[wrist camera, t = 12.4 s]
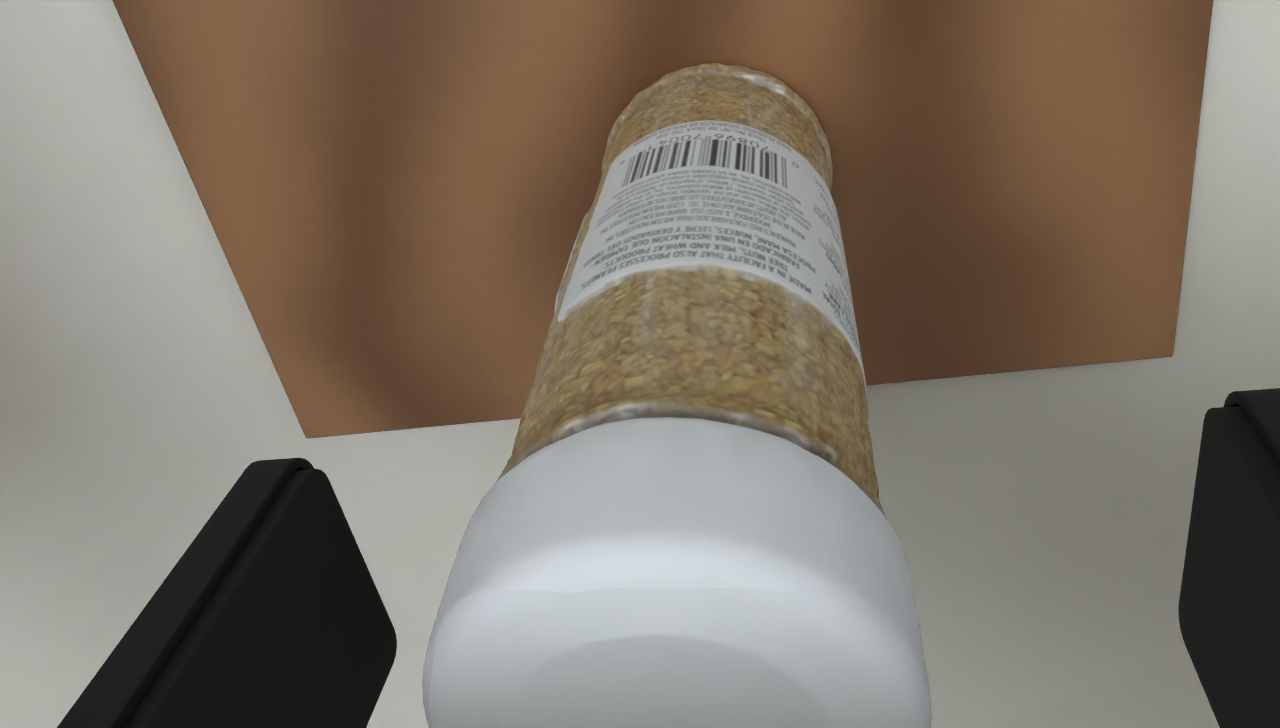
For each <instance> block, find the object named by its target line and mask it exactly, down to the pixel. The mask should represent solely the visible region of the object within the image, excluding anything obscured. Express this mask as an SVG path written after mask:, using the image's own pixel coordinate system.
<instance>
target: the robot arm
mask: <svg viewBox="0 0 1280 728" xmlns="http://www.w3.org/2000/svg"><path fill="white" fill-rule="evenodd" d="M1179 622H1180V629H1181V633H1182V637H1183V640H1184V643H1185V646H1186V648H1187V650H1188V653H1189V655H1190V657H1191V660H1192V662H1193V665H1194V667H1195V669H1196V672H1197V674H1198V677H1199V679H1200V681H1201V684H1202V686H1203V688H1204V691H1205V693H1206V696H1207V698H1208V700H1209V703H1210V705H1211V708H1212V710H1213V712H1214V715H1215V717H1216V719H1217V722H1218V724H1219V727H1220V728H1280V388H1277V389H1263V390H1249V391H1235V392H1232V393H1230V394H1229V395H1228V397H1227V398H1226V400H1225V404H1224V407H1221V408H1211V409H1209V410H1208V411H1207V413H1206V414H1205V418H1204V424H1203V431H1202V438H1201V445H1200V453H1199V460H1198V467H1197V475H1196V482H1195V489H1194V497H1193V504H1192V511H1191V519H1190V526H1189V533H1188V541H1187V548H1186V555H1185V562H1184V570H1183V577H1182V584H1181V592H1180V599H1179ZM396 648H397V640H396V633H395V630H394V627H393V625H392V623H391V620H390V618H389V616H388V614H387V611H386V609H385V607H384V604H383V602H382V600H381V598H380V595H379V593H378V591H377V588H376V586H375V584H374V582H373V579H372V577H371V575H370V573H369V570H368V568H367V566H366V563H365V561H364V559H363V557H362V554H361V552H360V550H359V548H358V545H357V543H356V541H355V538H354V536H353V534H352V532H351V529H350V527H349V525H348V522H347V520H346V518H345V516H344V513H343V511H342V509H341V507H340V504H339V502H338V500H337V497H336V495H335V493H334V491H333V488H332V486H331V484H330V481H329V479H328V478H327V476H326V474H325V473H324V472H323V471H322V470H318V469H314V468H313V466H312V464H311V463H310V462H308V461H307V460H306V459H303V458H290V459H276V460H261V461H256V462H253V463H251V464H250V465H249V466H248V467H247V468H246V469H245V471H244V472H243V473H242V475H241V476H240V478H239V479H238V480H237V482H236V483H235V484H234V486H233V487H232V489H231V490H230V491H229V493H228V494H227V495H226V497H225V498H224V500H223V501H222V502H221V504H220V505H219V506H218V508H217V509H216V510H215V512H214V513H213V515H212V516H211V517H210V519H209V520H208V521H207V523H206V524H205V526H204V527H203V528H202V530H201V531H200V532H199V534H198V535H197V537H196V538H195V539H194V541H193V542H192V543H191V545H190V546H189V547H188V549H187V550H186V552H185V553H184V554H183V556H182V557H181V558H180V560H179V561H178V563H177V564H176V565H175V567H174V568H173V569H172V571H171V572H170V574H169V575H168V576H167V578H166V579H165V580H164V582H163V583H162V584H161V586H160V587H159V589H158V590H157V591H156V593H155V594H154V595H153V597H152V598H151V600H150V601H149V602H148V604H147V605H146V606H145V608H144V609H143V611H142V612H141V613H140V615H139V616H138V617H137V619H136V620H135V621H134V623H133V624H132V626H131V627H130V628H129V630H128V631H127V632H126V634H125V635H124V637H123V638H122V639H121V641H120V642H119V643H118V645H117V646H116V648H115V649H114V650H113V652H112V653H111V654H110V656H109V657H108V658H107V660H106V661H105V663H104V664H103V665H102V667H101V668H100V669H99V671H98V672H97V674H96V675H95V676H94V678H93V679H92V680H91V682H90V683H89V685H88V686H87V687H86V689H85V690H84V691H83V693H82V694H81V695H80V697H79V698H78V700H77V701H76V702H75V704H74V705H73V706H72V708H71V709H70V711H69V712H68V713H67V715H66V716H65V717H64V719H63V720H62V722H61V723H60V724H59V726H58V727H57V728H366V726H367V724H368V722H369V719H370V717H371V715H372V712H373V710H374V708H375V705H376V703H377V701H378V698H379V696H380V693H381V691H382V689H383V686H384V684H385V682H386V679H387V677H388V675H389V672H390V670H391V668H392V665H393V663H394V659H395V656H396Z"/></svg>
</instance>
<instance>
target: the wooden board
mask: <svg viewBox="0 0 1280 728" xmlns="http://www.w3.org/2000/svg"><path fill="white" fill-rule="evenodd" d="M113 2H114V5H115V7H116V9H117V12H118V14H119V16H120V18H121V21H122V23H123V25H124V27H125V30H126V32H127V34H128V36H129V39H130V41H131V43H132V45H133V48H134V50H135V52H136V54H137V57H138V59H139V61H140V64H141V66H142V68H143V70H144V73H145V75H146V77H147V79H148V82H149V84H150V86H151V88H152V91H153V93H154V95H155V97H156V100H157V102H158V104H159V106H160V109H161V111H162V113H163V116H164V118H165V120H166V122H167V125H168V127H169V129H170V131H171V134H172V136H173V138H174V140H175V143H176V145H177V147H178V149H179V152H180V154H181V156H182V159H183V161H184V163H185V165H186V168H187V170H188V172H189V174H190V177H191V179H192V181H193V183H194V186H195V188H196V190H197V192H198V195H199V197H200V199H201V201H202V204H203V206H204V208H205V211H206V213H207V215H208V217H209V220H210V222H211V224H212V226H213V229H214V231H215V233H216V235H217V238H218V240H219V242H220V244H221V247H222V249H223V251H224V253H225V256H226V258H227V260H228V263H229V265H230V267H231V269H232V272H233V274H234V276H235V278H236V281H237V283H238V285H239V287H240V290H241V292H242V294H243V296H244V299H245V301H246V303H247V305H248V308H249V310H250V312H251V315H252V317H253V319H254V321H255V324H256V326H257V328H258V330H259V333H260V335H261V337H262V339H263V342H264V344H265V346H266V348H267V351H268V353H269V355H270V357H271V360H272V362H273V364H274V367H275V369H276V371H277V373H278V376H279V378H280V380H281V382H282V385H283V387H284V389H285V391H286V394H287V396H288V398H289V400H290V403H291V405H292V407H293V409H294V412H295V414H296V416H297V419H298V421H299V423H300V425H301V428H302V430H303V432H304V434H305V437H306V438H317V437H327V436H338V435H348V434H359V433H369V432H380V431H391V430H401V429H412V428H422V427H433V426H443V425H454V424H465V423H475V422H486V421H496V420H507V419H517V418H521V417H522V414H523V411H524V408H525V404H526V401H527V398H528V395H529V392H530V389H531V387H532V385H533V383H534V379H535V375H536V370H537V366H538V361H539V358H540V356H541V354H542V352H543V349H544V344H545V342H546V338H547V333H548V330H549V328H550V324H551V321H552V319H553V316H554V312H555V302H556V297H557V294H558V291H559V288H560V285H561V282H562V279H563V276H564V273H565V270H566V267H567V264H568V261H569V258H570V255H571V252H572V249H573V247H574V244H575V241H576V238H577V235H578V233H579V230H580V227H581V224H582V222H583V219H584V217H585V215H586V214H587V213H588V211H589V210H590V208H591V206H592V204H593V202H594V199H595V195H596V192H597V189H598V186H599V183H600V180H601V177H602V161H603V158H604V154H605V151H606V146H607V140H608V137H609V134H610V131H611V129H612V127H613V125H614V123H615V122H616V120H617V119H618V117H619V116H620V114H621V113H622V111H623V110H624V109H625V108H626V107H627V106H628V105H629V103H630V102H631V101H632V99H633V98H634V97H635V95H636V94H637V93H639V92H641V91H643V90H645V89H646V88H647V87H648V86H650V85H651V84H652V83H653V82H655V81H657V80H659V79H660V78H662V77H663V76H665V75H666V74H668V73H671V72H674V71H677V70H679V69H682V68H687V67H693V66H697V65H700V64H708V63H721V64H724V65H741V66H745V67H748V68H751V69H754V70H758V71H762V72H765V73H768V74H770V75H772V76H773V77H775V78H777V79H778V80H780V81H782V82H783V83H785V84H786V85H787V86H788V87H789V88H791V89H792V90H793V91H795V92H796V93H797V94H798V95H799V96H800V97H802V99H803V100H804V101H805V102H806V103H807V105H808V106H809V107H810V108H811V109H812V111H813V112H814V114H815V115H816V117H817V119H818V121H819V123H820V125H821V128H822V129H823V131H824V133H825V135H826V136H827V138H828V142H829V147H830V151H831V160H832V166H833V175H832V186H831V191H830V194H831V196H832V199H833V202H834V204H835V207H836V210H837V214H838V219H839V223H840V229H841V236H842V241H843V247H844V253H845V258H846V264H847V270H848V276H849V282H850V288H851V295H852V302H853V308H854V315H855V321H856V327H857V333H858V339H859V345H860V351H861V357H862V363H863V368H864V374H865V380H866V385H877V384H887V383H898V382H908V381H919V380H930V379H940V378H951V377H961V376H972V375H982V374H993V373H1004V372H1014V371H1025V370H1035V369H1046V368H1056V367H1067V366H1078V365H1088V364H1099V363H1109V362H1120V361H1130V360H1141V359H1151V358H1162V357H1171V356H1173V352H1174V343H1175V334H1176V325H1177V316H1178V308H1179V299H1180V290H1181V281H1182V272H1183V263H1184V254H1185V245H1186V237H1187V228H1188V219H1189V210H1190V201H1191V192H1192V183H1193V174H1194V165H1195V157H1196V148H1197V139H1198V130H1199V121H1200V112H1201V103H1202V94H1203V86H1204V77H1205V68H1206V59H1207V50H1208V41H1209V32H1210V23H1211V14H1212V6H1213V0H113Z"/></svg>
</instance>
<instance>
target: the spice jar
mask: <svg viewBox="0 0 1280 728" xmlns="http://www.w3.org/2000/svg"><path fill="white" fill-rule="evenodd" d="M832 175H833V166H832V160H831V151H830V147H829V142H828V138H827V136H826V135H825V133H824V131H823V129H822V128H821V125H820V123H819V121H818V119H817V117H816V115H815V114H814V112H813V111H812V109H811V108H810V107H809V106H808V105H807V103H806V102H805V101H804V100H803V99H802V97H800V96H799V95H798V94H797V93H796V92H795V91H793V90H792V89H791V88H789V87H788V86H787V85H786V84H785V83H783V82H782V81H780V80H778V79H777V78H775V77H773V76H772V75H770V74H768V73H765V72H762V71H758V70H754V69H751V68H748V67H745V66H741V65H724V64H721V63H708V64H700V65H697V66H693V67H687V68H682V69H679V70H677V71H674V72H671V73H668V74H666V75H665V76H663V77H662V78H660V79H659V80H657V81H655V82H653V83H652V84H651V85H650V86H648V87H647V88H646V89H645V90H643V91H641V92H639V93H637V94H636V95H635V97H634V98H633V99H632V101H631V102H630V103H629V105H628V106H627V107H626V108H625V109H624V110H623V111H622V113H621V114H620V116H619V117H618V119H617V120H616V122H615V123H614V125H613V127H612V129H611V131H610V134H609V137H608V140H607V146H606V151H605V154H604V158H603V161H602V177H601V180H600V183H599V186H598V189H597V192H596V195H595V199H594V202H593V204H592V206H591V208H590V210H589V211H588V213H587V214H586V215H585V217H584V219H583V222H582V224H581V227H580V230H579V233H578V235H577V238H576V241H575V244H574V247H573V249H572V252H571V255H570V258H569V261H568V264H567V267H566V270H565V273H564V276H563V279H562V282H561V285H560V288H559V291H558V294H557V297H556V302H555V312H554V316H553V319H552V321H551V324H550V328H549V330H548V333H547V338H546V342H545V344H544V349H543V352H542V354H541V356H540V358H539V361H538V366H537V370H536V375H535V379H534V383H533V385H532V387H531V389H530V392H529V395H528V398H527V401H526V404H525V408H524V411H523V414H522V417H521V420H520V426H519V430H518V433H517V436H516V439H515V444H514V448H513V451H512V456H511V457H510V459H509V460H508V462H507V465H506V467H505V468H504V470H503V472H502V473H501V475H500V477H499V478H498V480H497V481H496V483H495V484H494V485H493V486H492V488H491V489H490V490H489V491H488V492H487V493H486V495H485V496H484V497H483V498H482V500H481V502H480V504H479V505H478V507H477V509H476V511H475V513H474V514H473V516H472V518H471V520H470V522H469V523H468V525H467V528H466V530H465V533H464V536H463V538H462V541H461V544H460V547H459V550H458V553H457V555H456V558H455V561H454V564H453V567H452V570H451V573H450V576H449V579H448V582H447V585H446V588H445V592H444V595H443V598H442V601H441V604H440V607H439V611H438V614H437V617H436V620H435V623H434V626H433V630H432V633H431V636H430V640H429V644H428V649H427V654H426V658H425V663H424V671H423V682H422V687H423V703H424V708H425V713H426V718H427V722H428V725H429V728H930V726H931V719H932V718H931V700H930V690H929V683H928V676H927V670H926V663H925V657H924V650H923V644H922V637H921V630H920V624H919V618H918V613H917V608H916V602H915V597H914V591H913V586H912V580H911V575H910V569H909V565H908V562H907V559H906V556H905V553H904V550H903V548H902V546H901V544H900V541H899V539H898V537H897V535H896V533H895V532H894V530H893V528H892V527H891V525H890V524H889V522H888V521H887V519H886V517H885V514H884V512H883V509H882V506H881V503H880V501H879V489H878V481H877V477H876V473H875V467H874V461H873V449H872V442H871V436H870V432H869V429H868V423H867V421H868V397H867V388H866V380H865V374H864V368H863V363H862V357H861V351H860V345H859V339H858V333H857V327H856V321H855V315H854V308H853V302H852V295H851V288H850V282H849V276H848V270H847V264H846V258H845V253H844V247H843V241H842V236H841V229H840V223H839V219H838V214H837V210H836V207H835V204H834V202H833V199H832V196H831V194H830V191H831V186H832Z"/></svg>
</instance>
